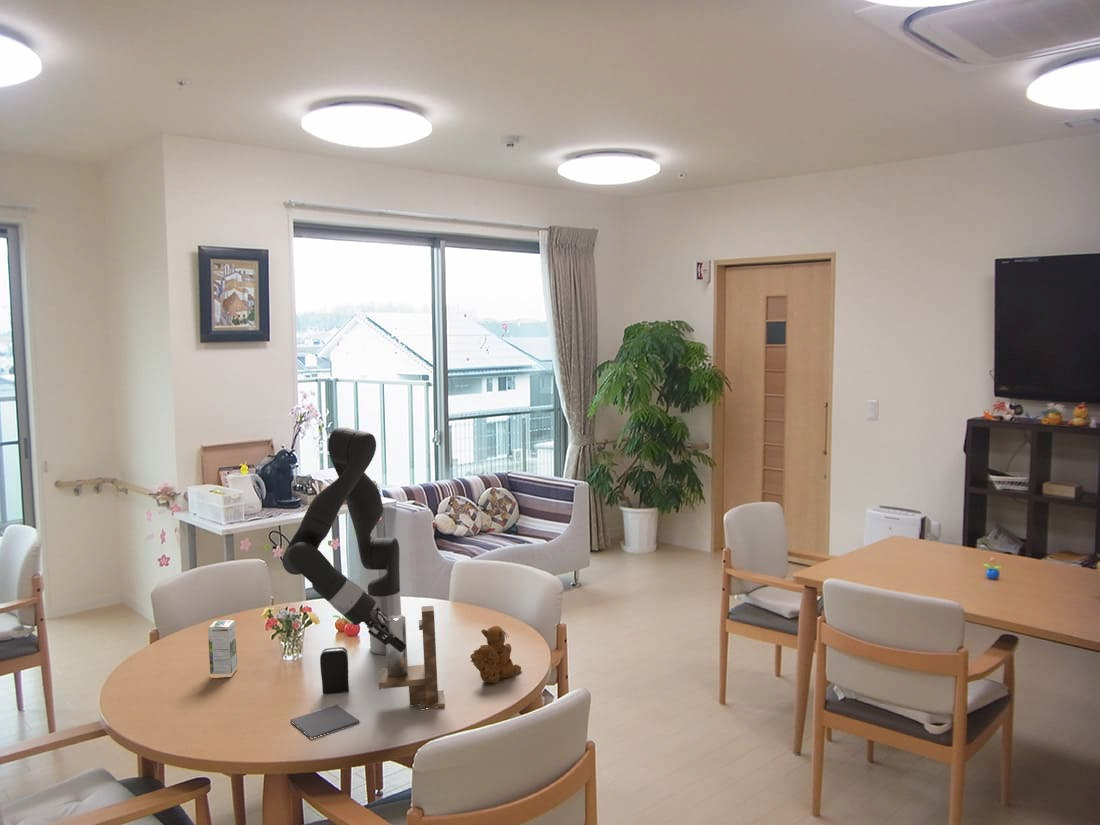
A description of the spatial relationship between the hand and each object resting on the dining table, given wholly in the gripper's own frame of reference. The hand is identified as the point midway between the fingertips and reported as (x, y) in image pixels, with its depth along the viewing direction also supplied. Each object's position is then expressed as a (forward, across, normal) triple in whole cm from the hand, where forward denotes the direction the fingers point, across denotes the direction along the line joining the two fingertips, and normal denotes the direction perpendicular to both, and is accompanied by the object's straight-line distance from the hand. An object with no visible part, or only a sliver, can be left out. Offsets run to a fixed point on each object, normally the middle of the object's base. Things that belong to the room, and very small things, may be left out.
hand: (403, 644), depth 209 cm
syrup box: (-24, +31, +46) cm, 61 cm away
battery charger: (-2, +12, +24) cm, 27 cm away
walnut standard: (+12, 0, +10) cm, 15 cm away
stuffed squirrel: (+27, +11, -5) cm, 30 cm away
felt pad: (-3, -6, +24) cm, 25 cm away
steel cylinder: (+4, 0, +6) cm, 7 cm away
